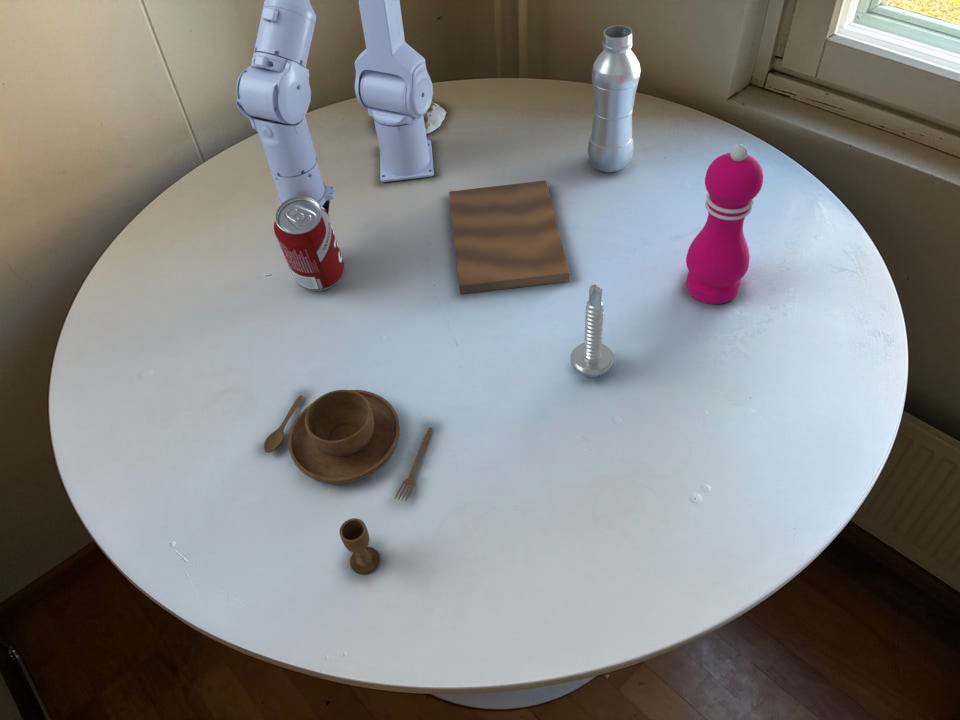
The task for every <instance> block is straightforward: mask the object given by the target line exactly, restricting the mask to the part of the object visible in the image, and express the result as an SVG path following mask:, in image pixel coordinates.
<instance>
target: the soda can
mask: <svg viewBox="0 0 960 720" xmlns="http://www.w3.org/2000/svg"><path fill="white" fill-rule="evenodd" d="M274 214H275V215H274V222H273V233H274V235H275V237H276V240H277V242H278V244H279V247H280V249H281V252H282V253H283V256H284V259H285V261H286V263H287V265H288V267H289V270H290V272H291V274H292V277H293V279H294V281H295V283H296V284H297V285H298V286H300V287H301V288H302V289H304V290H308V291H311V292H319V291H320V292H321V291H325V290H327V289H331V288H332V287H334V286H335V285H336V284H337V283H339V281H340V280H341V279H342V278H343V276H344V273H345V269H346V268H345V261H344V258H343V254H342V251H341V249H340V245H339V242H338V239H337V236H336V233H335V230H334V227H333V223H332V221H331V217H330V214H329V213H328V212H327V211H326V210H325V209H324V208H323V207H322V206H321V205H319V203H318V202H317V201H316V200H314V199H312V198H310V197H306V196H297V197H293V198H290V199H288V200H286V201H284V202H283V203H282V204H281V205H280V204H279V206H278V207H277V209H276V210H275V213H274Z"/></svg>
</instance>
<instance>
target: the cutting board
mask: <svg viewBox="0 0 960 720" xmlns="http://www.w3.org/2000/svg"><path fill="white" fill-rule="evenodd" d="M549 189H550V188H549V186H548V181H547V180H546V179H545V180H537V181H527V182H519V183H511V184H502V185H493V186H486V187H477V188H467V189H459V190H450V191H448V195H449V205H450V206H449V207H450V213H451V215H450V217H451V225H452V234H453V245H454V253H455V261H456V271H457V281H458V291H459V295H464V294H466V295H467V294H474V293H475V294H476V293H484V292H492V291H501V290H509V289H516V288H517V289H519V288H525V287H527V288H528V287H533V286H542V285H552V284H559V283H561V284H562V283H568V282H570V280H571V279H570V276H571V275H570V274H571V272H570V269H569V264H568V261H567V256H566V254H565V249H564V245H563V241H562V240H563V239H562V237H561V233H560V229H559V224H558V220H557V218H556V212H555V210H554V209H555V208H554V205H553V202H552V201H553V200H552V197H551V193H550V190H549Z"/></svg>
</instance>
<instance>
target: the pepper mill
mask: <svg viewBox="0 0 960 720" xmlns="http://www.w3.org/2000/svg"><path fill="white" fill-rule="evenodd" d="M763 184H764V171H763V167H762V165H761V164H760V162H759V161H758V160H757V159H756V158H754V157H753V156H751V155H749V149H748V147H747V146H746V145H745V144H741V143H737V144H735V145H734V146H733V147H732V148H731V149H730V152H727V153H723V154H721V155H719V156H717V157H716V158H715V159H714V160H713V161H711V162H710V164H709V166H708V168H707V170H706V172H705V177H704V186H705V190H706V192H707V194H706V196H705V197H706V200H705V202H704V204H705V205H704V206H705V210H706V211H707V214H708V215H707V220H706V222H705V224H704V226H703V227H702V229H701V230H700V231H699V232H698V233H697V235H696V236H695V237H694V239H692V242H691V244H690V245H689V247H688V249H687V254H686V257H685V264H686V267H687V270H688V272H687V275H686V281H685V287H686V290H687V292H688V294H689V295H690V296H691V297H692V298H694V299H695V300H697V301H699V302H701V303H703V304H708V305H721V304H725V303H728V302H730V301H732V300H733V299H735V297H736V296H737V295H738V293H739V290H740V286H741V280H742V279H743V277H744V276H745V275H746V274H747V272H748V270H749V267H750V266H749V265H750V257H751V255H750V249H749V246H748V243H747V240H746V238H745V234H744V233H745V232H744V223H745V219H746V217H748V216H749V215H750V214H751V212H752V210H753V205H754V198H757V195H758V194H759V193H760V192H761V190H762V188H763Z"/></svg>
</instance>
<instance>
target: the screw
mask: <svg viewBox="0 0 960 720" xmlns="http://www.w3.org/2000/svg"><path fill="white" fill-rule="evenodd" d="M602 298H603V288H601V287H600V286H598V285H597V284H591V285H590V286H589V287H588V301H586V306H585V316H584V317H585V319H584V320H585V323H584V342H582V343H580V344H578V345H576V346H575V347H574V348H573V349H572V350H571V353H570V359H569V361H570V364H571V366H572V368H573V369H574V370H575V371H576V372H578V373H579V374H582V375H583V376H584V378H587V379H589V378H592V379H599V378H600V376H603V375H604V374H607V373H608V372H609V371H610V370H611V369H613V367H614V365H615V364H614V363H615V355H614V352H613V350H612V349H611V348H610V347H609V346H607V345H606V344H604V343H603V341H602V340H603V330H604V329H603V327H604V325H603V324H604V312H605V310H604V303H603V302H602V301H603V300H602Z"/></svg>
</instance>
